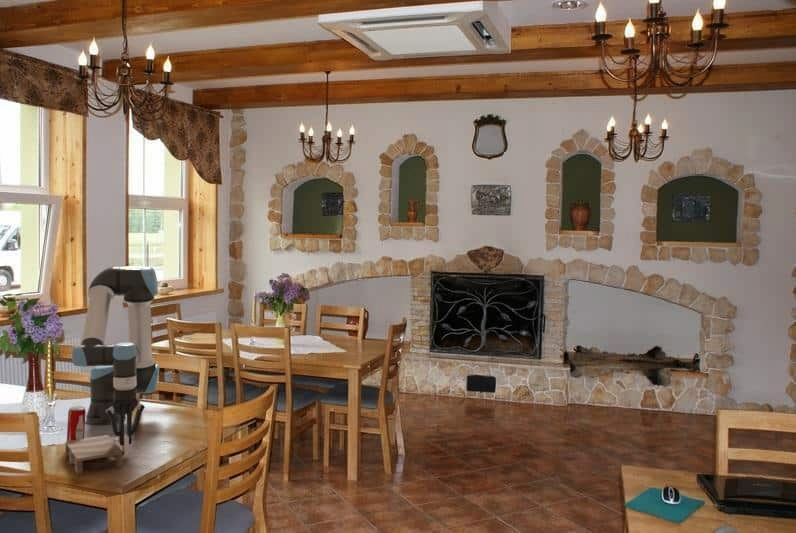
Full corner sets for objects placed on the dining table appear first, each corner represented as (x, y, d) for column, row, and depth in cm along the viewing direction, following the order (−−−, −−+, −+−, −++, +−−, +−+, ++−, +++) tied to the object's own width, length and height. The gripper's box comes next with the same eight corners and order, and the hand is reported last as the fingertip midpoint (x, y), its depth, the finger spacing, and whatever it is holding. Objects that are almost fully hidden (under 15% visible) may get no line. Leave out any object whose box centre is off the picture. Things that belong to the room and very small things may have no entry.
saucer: (119, 469, 231) (119, 461, 231) (72, 472, 229) (72, 464, 228) (127, 454, 246) (127, 447, 246) (83, 456, 243) (83, 449, 243)
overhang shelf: (65, 458, 240) (65, 441, 240) (108, 451, 248) (108, 434, 248) (77, 477, 224) (77, 459, 223) (122, 468, 232) (122, 451, 231)
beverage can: (66, 446, 252) (66, 406, 251) (86, 444, 254) (85, 405, 253) (66, 452, 246) (65, 410, 245) (85, 450, 249) (85, 409, 248)
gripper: (107, 392, 233) (108, 460, 235) (147, 387, 241) (147, 453, 243) (102, 387, 240) (103, 453, 241) (141, 383, 247) (141, 447, 249)
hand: (125, 453), depth 242 cm, fingers closed
